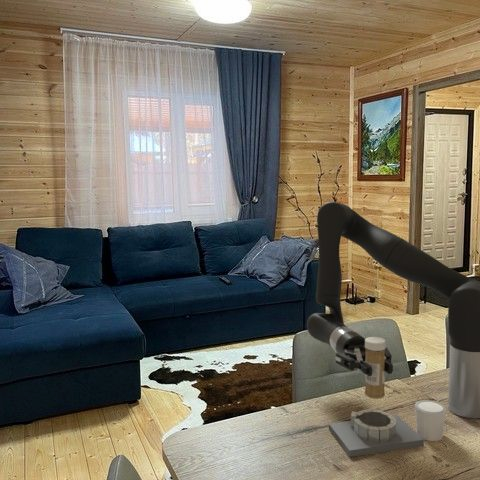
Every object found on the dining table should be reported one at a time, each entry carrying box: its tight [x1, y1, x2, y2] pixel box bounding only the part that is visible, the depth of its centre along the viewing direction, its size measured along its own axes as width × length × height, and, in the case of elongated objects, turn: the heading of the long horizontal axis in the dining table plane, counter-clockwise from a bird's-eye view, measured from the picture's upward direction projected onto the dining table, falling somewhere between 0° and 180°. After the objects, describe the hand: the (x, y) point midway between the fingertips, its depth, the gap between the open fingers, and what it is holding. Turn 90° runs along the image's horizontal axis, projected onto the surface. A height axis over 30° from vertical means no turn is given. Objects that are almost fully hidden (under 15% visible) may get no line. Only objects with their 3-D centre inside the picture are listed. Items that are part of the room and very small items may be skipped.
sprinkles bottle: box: [364, 336, 387, 400], centre depth 111 cm, size 5×5×13 cm
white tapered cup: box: [414, 399, 447, 442], centre depth 113 cm, size 7×7×7 cm
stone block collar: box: [350, 408, 396, 442], centre depth 113 cm, size 9×10×3 cm
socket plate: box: [328, 413, 425, 458], centre depth 113 cm, size 18×12×2 cm, turn 101°
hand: (380, 370), depth 108 cm, fingers closed on sprinkles bottle, 4 cm apart
